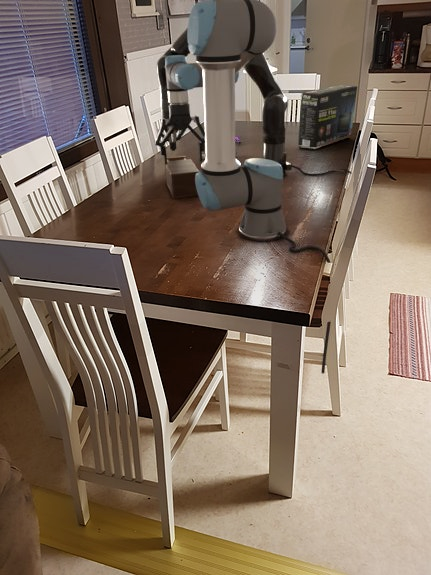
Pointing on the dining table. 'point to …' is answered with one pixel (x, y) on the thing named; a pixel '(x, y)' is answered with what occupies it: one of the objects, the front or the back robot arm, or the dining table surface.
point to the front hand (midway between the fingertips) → (183, 162)
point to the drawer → (175, 160)
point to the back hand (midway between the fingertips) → (173, 150)
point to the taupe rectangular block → (181, 178)
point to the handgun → (237, 139)
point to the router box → (326, 115)
